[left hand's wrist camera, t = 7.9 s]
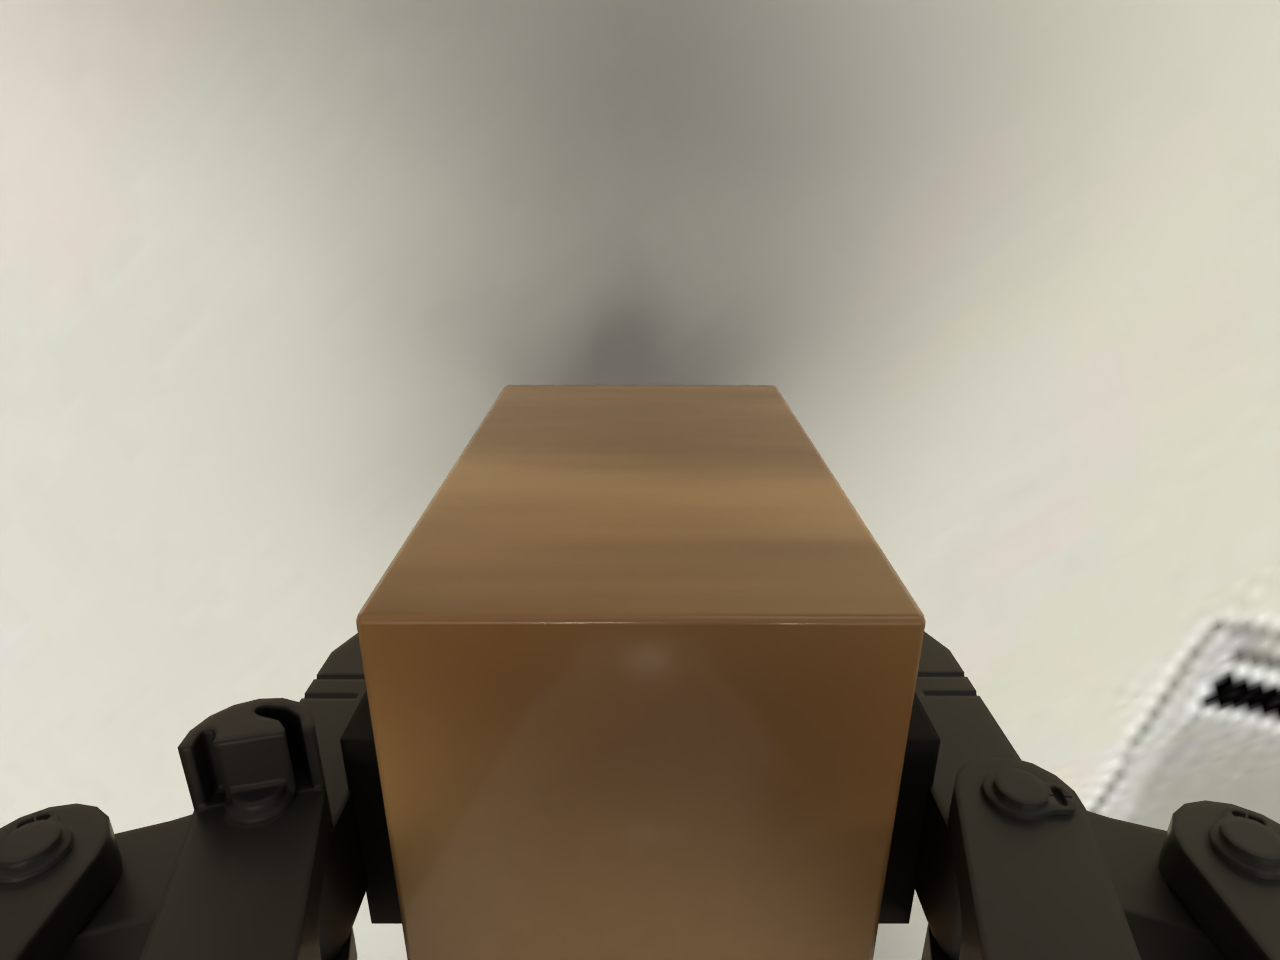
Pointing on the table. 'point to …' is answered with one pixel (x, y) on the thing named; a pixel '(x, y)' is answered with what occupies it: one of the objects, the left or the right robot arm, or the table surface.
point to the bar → (640, 688)
